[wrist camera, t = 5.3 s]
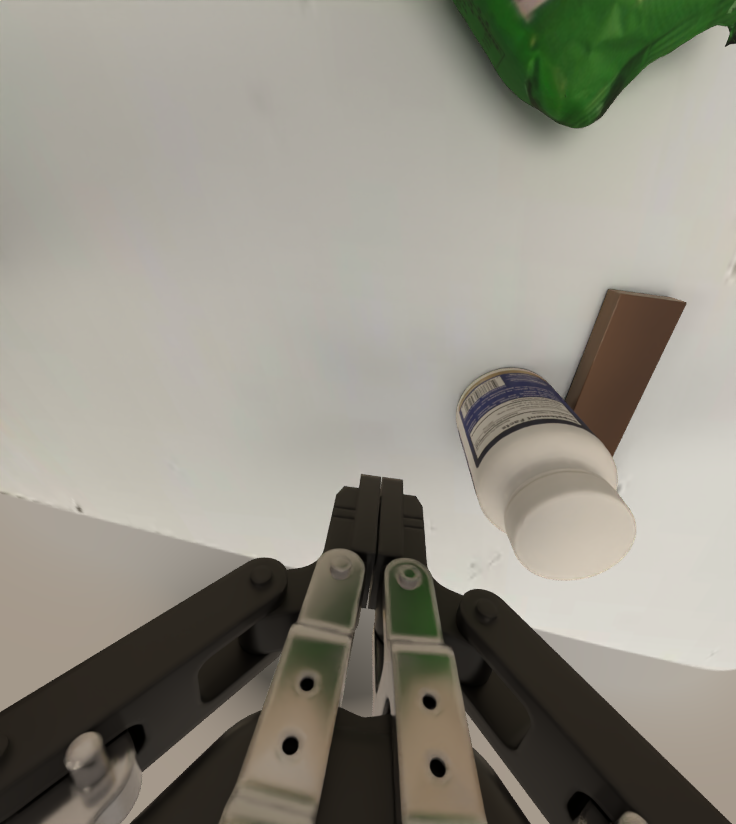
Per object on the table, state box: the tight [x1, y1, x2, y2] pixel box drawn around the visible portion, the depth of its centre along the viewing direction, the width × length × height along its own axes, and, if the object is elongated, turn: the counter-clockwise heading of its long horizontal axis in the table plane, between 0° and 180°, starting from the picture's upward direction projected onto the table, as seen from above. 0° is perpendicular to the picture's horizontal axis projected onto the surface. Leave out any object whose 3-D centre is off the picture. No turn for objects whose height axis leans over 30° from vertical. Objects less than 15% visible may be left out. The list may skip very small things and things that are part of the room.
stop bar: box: [565, 289, 686, 457], centre depth 21 cm, size 3×12×1 cm, turn 173°
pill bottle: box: [456, 368, 636, 580], centre depth 18 cm, size 5×5×10 cm
